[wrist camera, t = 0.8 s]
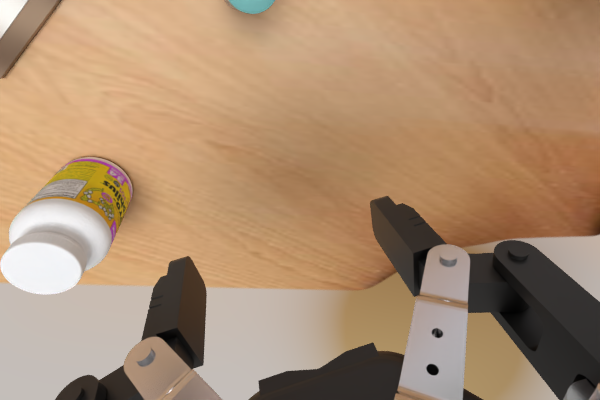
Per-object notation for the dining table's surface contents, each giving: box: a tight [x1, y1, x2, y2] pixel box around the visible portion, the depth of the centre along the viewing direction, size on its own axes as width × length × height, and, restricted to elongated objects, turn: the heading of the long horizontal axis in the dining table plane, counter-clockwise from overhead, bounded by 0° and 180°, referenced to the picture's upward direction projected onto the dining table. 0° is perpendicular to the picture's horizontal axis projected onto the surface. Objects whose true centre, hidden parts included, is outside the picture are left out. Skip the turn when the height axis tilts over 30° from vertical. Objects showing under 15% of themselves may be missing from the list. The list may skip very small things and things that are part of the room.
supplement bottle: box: [0, 157, 133, 294], centre depth 27 cm, size 7×7×13 cm
